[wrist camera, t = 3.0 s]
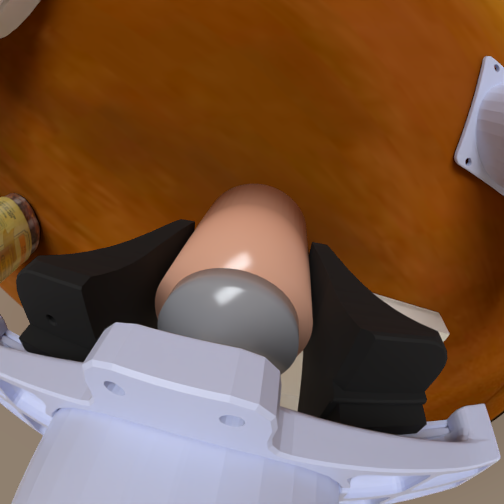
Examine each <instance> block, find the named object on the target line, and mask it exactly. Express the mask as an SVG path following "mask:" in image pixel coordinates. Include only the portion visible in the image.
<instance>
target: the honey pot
mask: <svg viewBox="0 0 504 504" xmlns="http://www.w3.org/2000/svg"><path fill="white" fill-rule="evenodd" d="M40 1H41V0H0V39H1V38H3V37H6V36H7V35H9V34H10V33H11V32H12V31H14V30H15V29H16V28H17V27H19V25H20V24H21V23H22V22H23V21H24V20H25V19H26V18H27V17H28V16H29V15H30V14H31V12H32V11H33V10H34V8H35V7H36V6H37V4H38V3H39V2H40Z"/></svg>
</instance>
